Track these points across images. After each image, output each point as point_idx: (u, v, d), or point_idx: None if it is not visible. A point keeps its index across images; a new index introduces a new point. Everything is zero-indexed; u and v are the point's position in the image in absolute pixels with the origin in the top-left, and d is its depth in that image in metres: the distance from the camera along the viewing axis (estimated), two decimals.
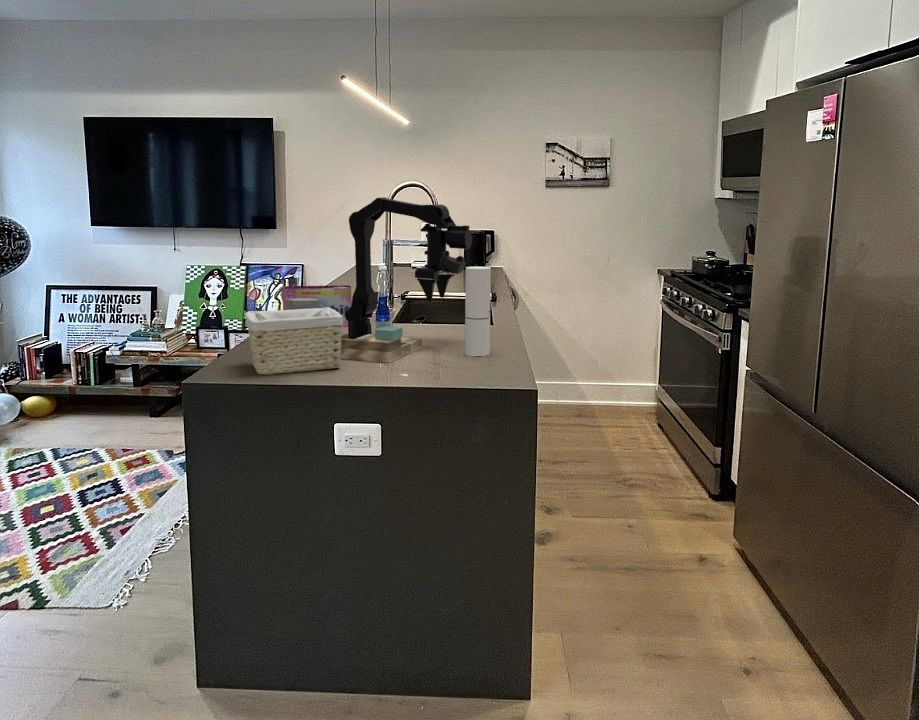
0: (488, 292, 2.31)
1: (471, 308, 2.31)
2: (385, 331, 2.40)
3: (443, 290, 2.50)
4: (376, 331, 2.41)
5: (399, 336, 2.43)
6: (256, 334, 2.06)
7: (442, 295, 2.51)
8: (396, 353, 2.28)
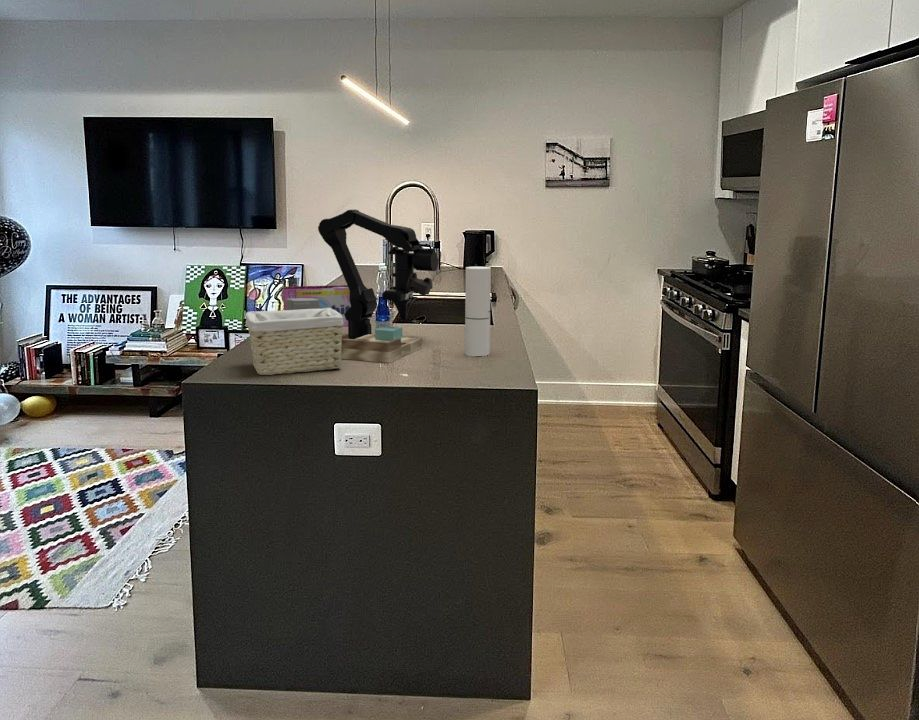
0: (488, 292, 2.31)
1: (471, 308, 2.31)
2: (385, 331, 2.40)
3: None
4: (376, 331, 2.41)
5: (399, 336, 2.43)
6: (256, 334, 2.06)
7: None
8: (396, 353, 2.28)
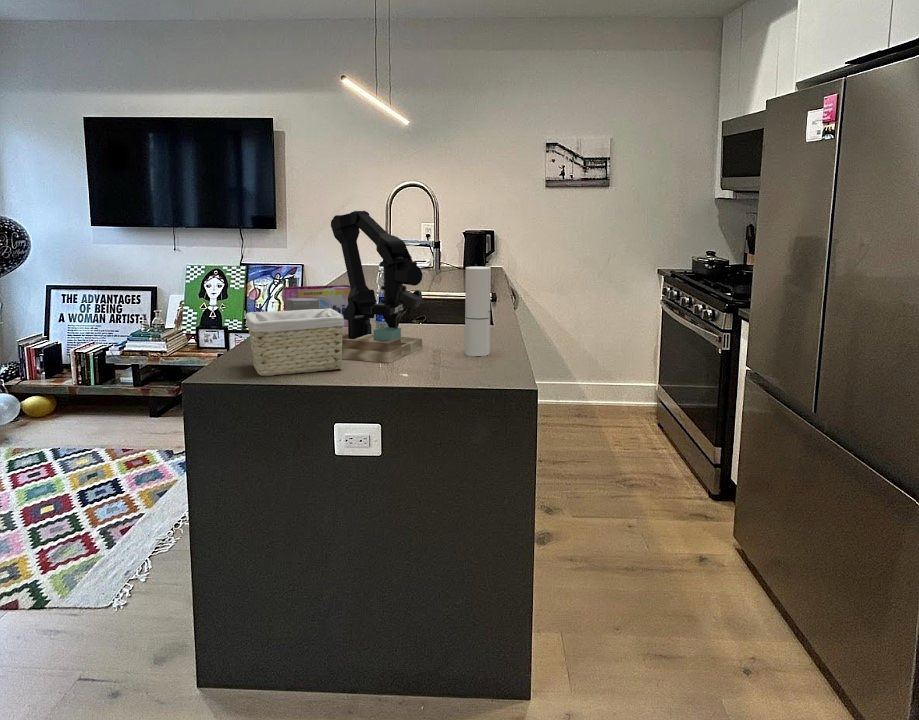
0: (488, 292, 2.31)
1: (471, 308, 2.31)
2: (383, 332, 2.39)
3: None
4: (374, 332, 2.40)
5: (397, 337, 2.42)
6: (257, 335, 2.05)
7: None
8: (396, 353, 2.28)
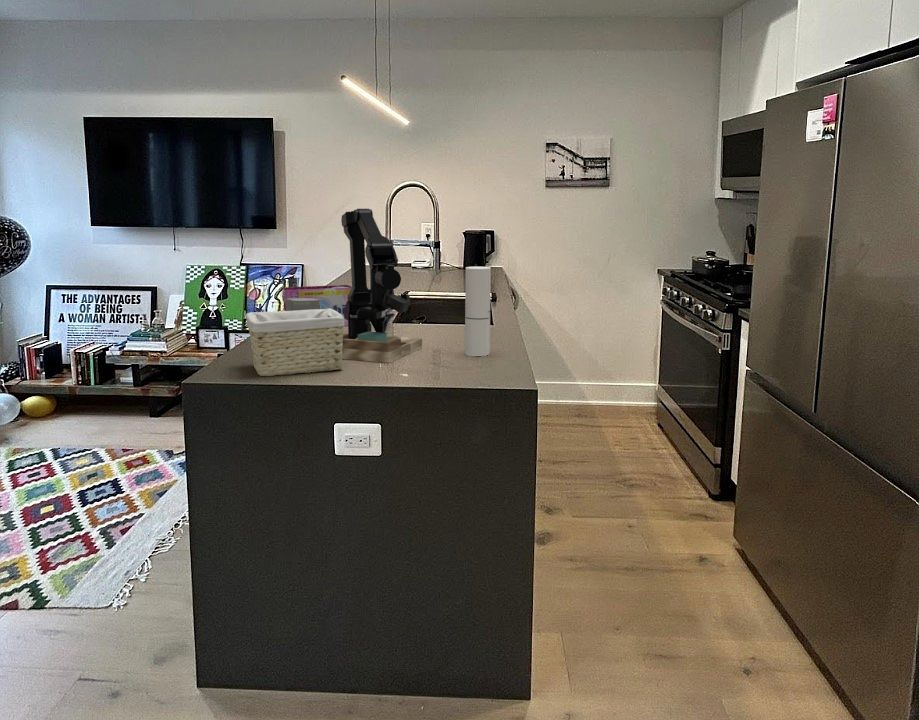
0: (488, 292, 2.31)
1: (471, 308, 2.31)
2: (367, 336, 2.31)
3: None
4: (359, 336, 2.33)
5: None
6: (257, 335, 2.05)
7: None
8: (396, 353, 2.28)
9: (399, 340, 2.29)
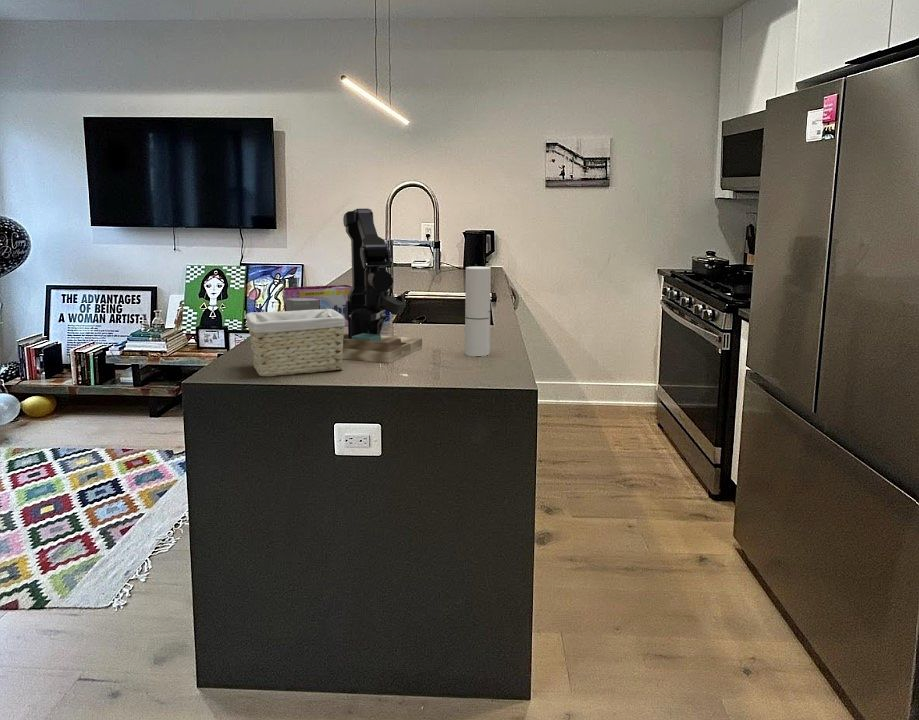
0: (488, 292, 2.31)
1: (471, 307, 2.31)
2: (362, 338, 2.28)
3: None
4: (353, 338, 2.30)
5: None
6: (257, 336, 2.04)
7: None
8: (396, 353, 2.28)
9: (399, 340, 2.29)
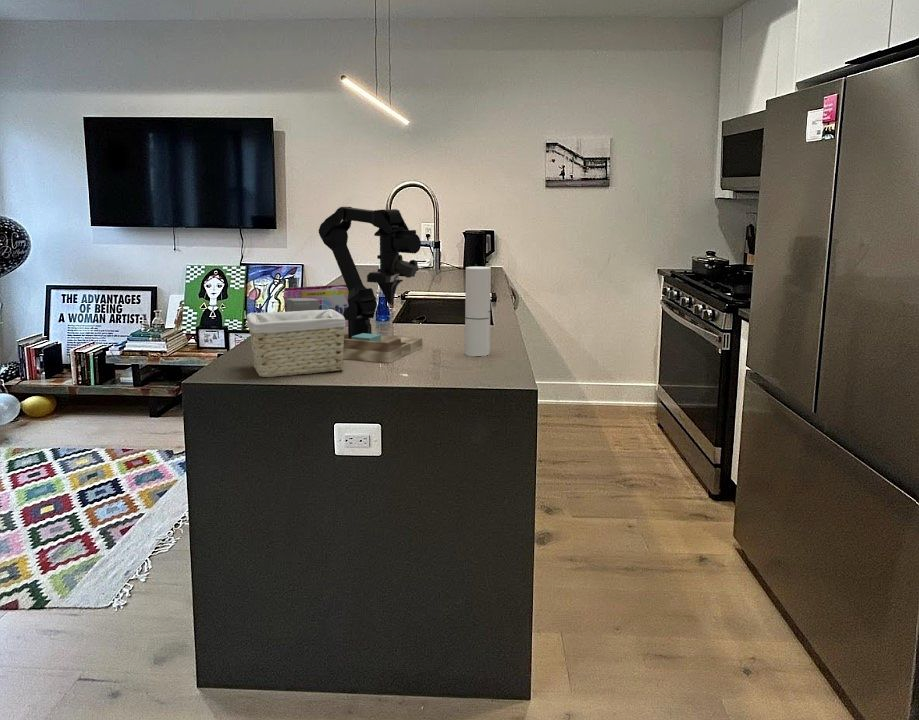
0: (488, 292, 2.31)
1: (471, 308, 2.31)
2: (362, 338, 2.28)
3: None
4: (353, 338, 2.30)
5: None
6: (257, 336, 2.03)
7: None
8: (396, 353, 2.28)
9: (399, 340, 2.29)
